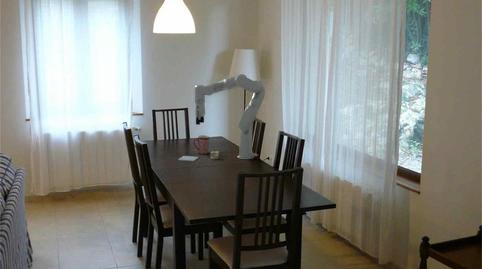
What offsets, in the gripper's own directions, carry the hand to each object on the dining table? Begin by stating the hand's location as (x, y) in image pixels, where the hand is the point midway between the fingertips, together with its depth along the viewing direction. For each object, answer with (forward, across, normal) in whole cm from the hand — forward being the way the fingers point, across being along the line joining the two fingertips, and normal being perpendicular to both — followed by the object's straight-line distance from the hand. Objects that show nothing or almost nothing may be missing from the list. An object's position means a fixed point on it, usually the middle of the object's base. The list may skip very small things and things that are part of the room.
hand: (200, 123), depth 399 cm
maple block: (+25, -5, -13) cm, 29 cm away
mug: (+25, +9, +2) cm, 27 cm away
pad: (+25, -14, +4) cm, 29 cm away
